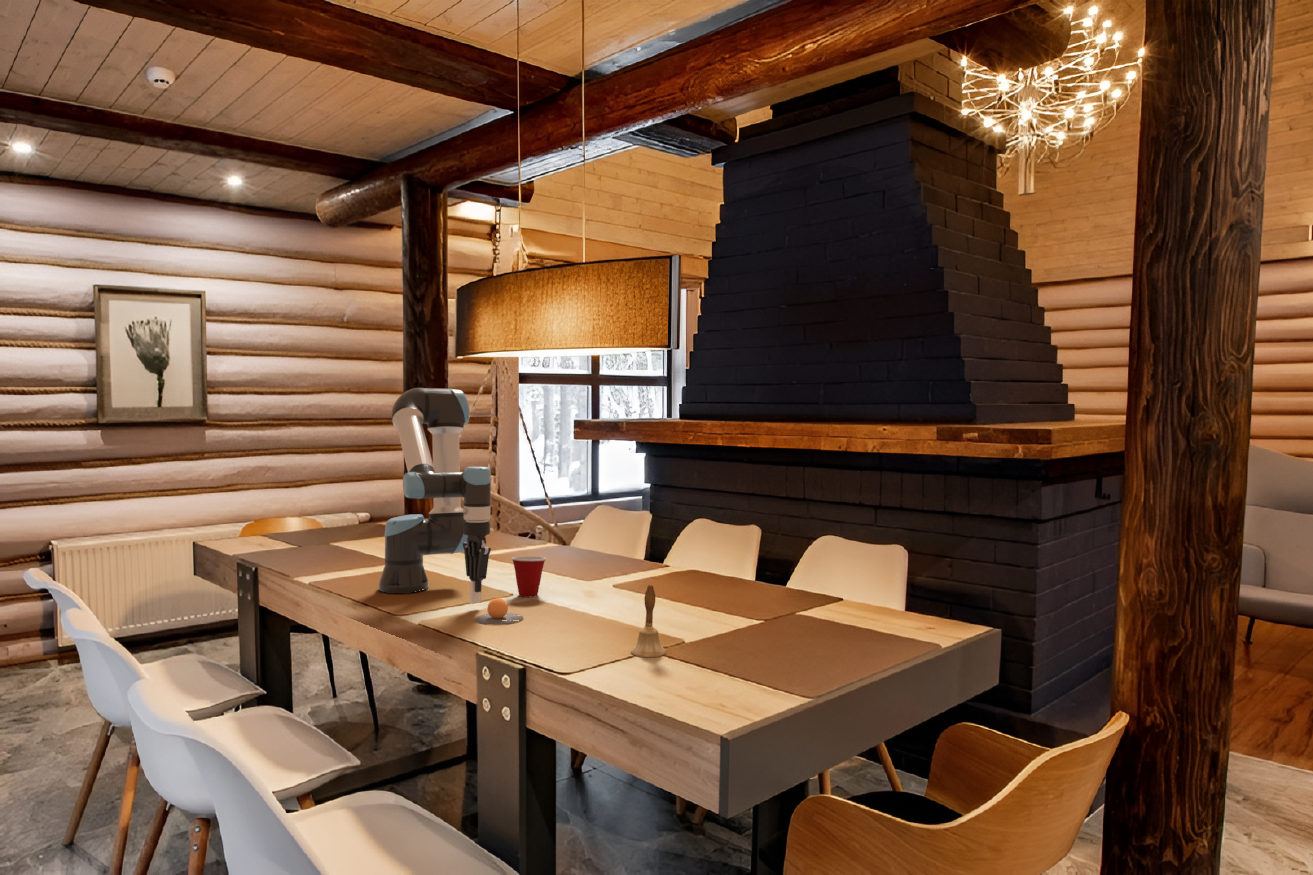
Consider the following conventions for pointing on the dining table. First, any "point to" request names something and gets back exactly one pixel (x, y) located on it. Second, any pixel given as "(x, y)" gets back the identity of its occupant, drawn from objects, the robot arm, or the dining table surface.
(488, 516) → the robot arm
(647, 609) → the hand bell
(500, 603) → the ball
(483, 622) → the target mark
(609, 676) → the dining table surface
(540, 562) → the plastic cup
